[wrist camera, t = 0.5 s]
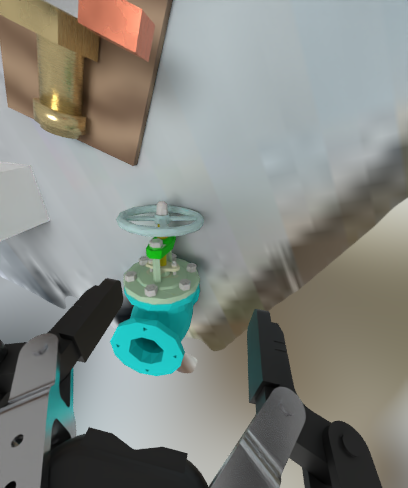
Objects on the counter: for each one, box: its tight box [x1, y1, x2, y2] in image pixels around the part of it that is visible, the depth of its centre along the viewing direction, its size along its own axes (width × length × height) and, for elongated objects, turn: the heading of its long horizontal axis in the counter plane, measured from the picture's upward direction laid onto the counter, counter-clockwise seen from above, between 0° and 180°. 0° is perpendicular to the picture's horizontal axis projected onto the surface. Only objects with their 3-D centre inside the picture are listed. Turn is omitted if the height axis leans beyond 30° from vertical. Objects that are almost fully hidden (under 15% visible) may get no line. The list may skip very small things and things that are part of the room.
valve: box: [110, 201, 204, 376], centre depth 38 cm, size 14×18×30 cm
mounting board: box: [0, 0, 173, 166], centre depth 26 cm, size 30×22×2 cm
